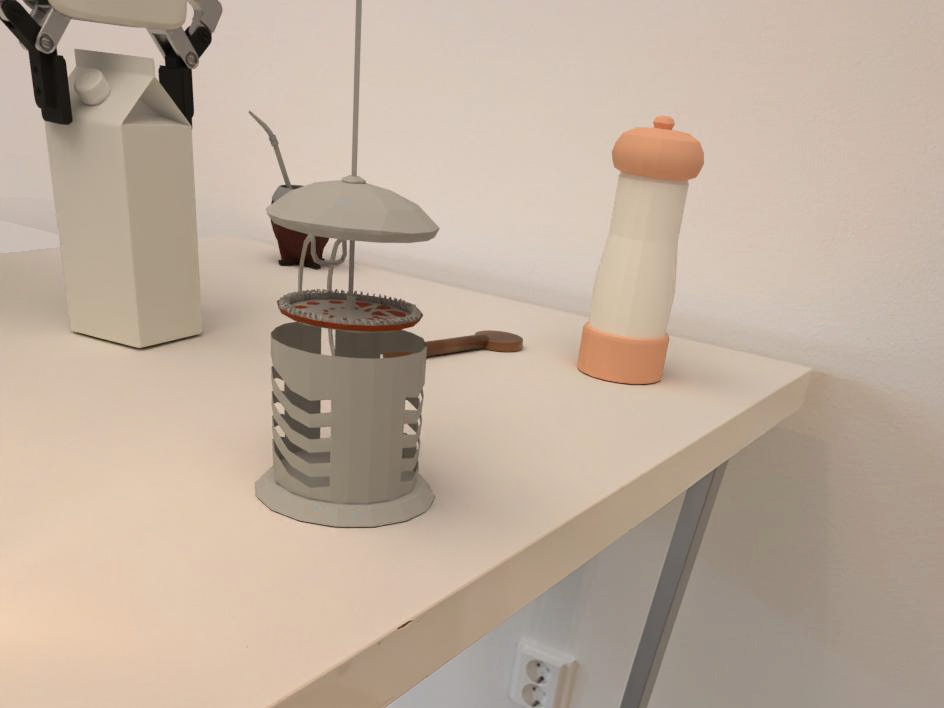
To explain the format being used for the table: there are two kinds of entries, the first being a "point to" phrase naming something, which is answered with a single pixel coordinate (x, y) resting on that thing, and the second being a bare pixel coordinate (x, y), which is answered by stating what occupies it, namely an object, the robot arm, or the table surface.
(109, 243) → the milk carton
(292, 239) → the mate gourd
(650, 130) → the pepper shaker
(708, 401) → the table surface
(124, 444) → the table surface
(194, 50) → the robot arm
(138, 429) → the table surface
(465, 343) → the wooden spoon
